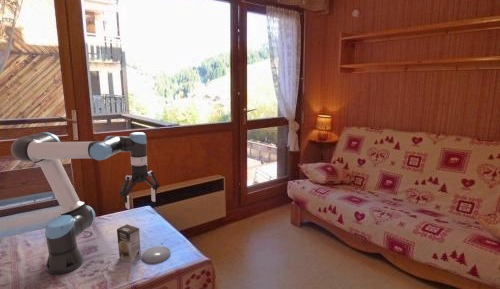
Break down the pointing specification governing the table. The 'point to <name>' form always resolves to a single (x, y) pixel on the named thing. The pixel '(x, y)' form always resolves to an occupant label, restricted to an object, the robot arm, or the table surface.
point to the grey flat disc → (155, 254)
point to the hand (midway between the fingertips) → (140, 204)
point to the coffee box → (129, 243)
